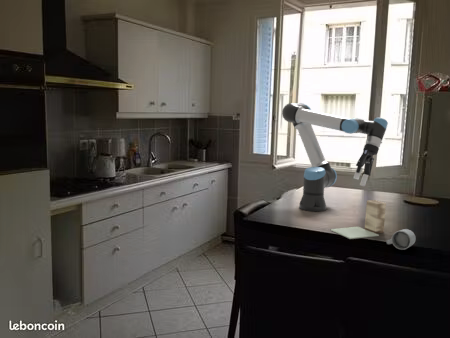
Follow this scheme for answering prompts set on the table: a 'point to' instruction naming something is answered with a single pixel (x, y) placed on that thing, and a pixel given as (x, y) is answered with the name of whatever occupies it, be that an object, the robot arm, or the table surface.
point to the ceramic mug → (402, 239)
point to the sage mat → (354, 232)
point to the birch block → (375, 216)
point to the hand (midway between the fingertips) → (359, 182)
